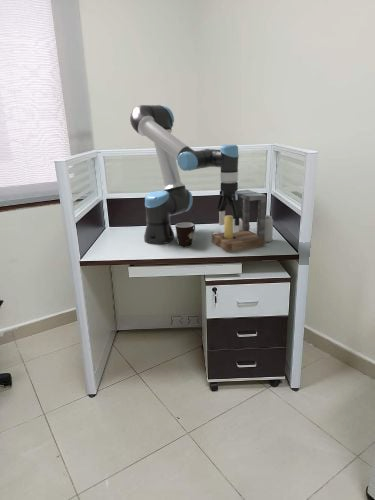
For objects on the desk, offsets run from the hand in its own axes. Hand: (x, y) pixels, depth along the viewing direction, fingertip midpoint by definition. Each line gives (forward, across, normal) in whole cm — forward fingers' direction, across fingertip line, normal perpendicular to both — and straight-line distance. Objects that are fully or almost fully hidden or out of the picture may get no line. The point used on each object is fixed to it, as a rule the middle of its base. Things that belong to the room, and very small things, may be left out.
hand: (228, 228), depth 159 cm
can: (+8, -1, -19) cm, 20 cm away
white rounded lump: (+9, +14, -12) cm, 21 cm away
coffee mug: (+9, +10, +16) cm, 21 cm away
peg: (+8, 0, 0) cm, 8 cm away
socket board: (+8, 0, -5) cm, 9 cm away
